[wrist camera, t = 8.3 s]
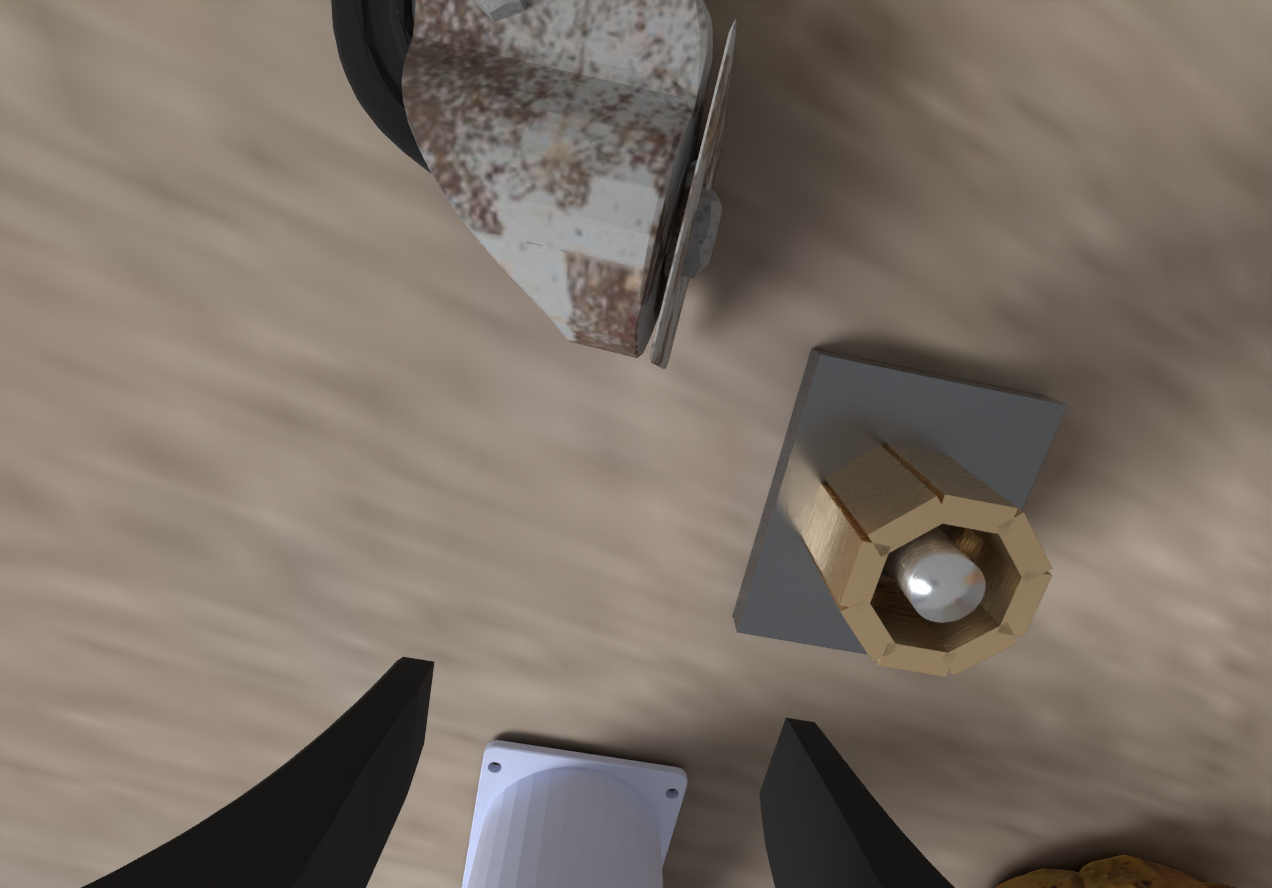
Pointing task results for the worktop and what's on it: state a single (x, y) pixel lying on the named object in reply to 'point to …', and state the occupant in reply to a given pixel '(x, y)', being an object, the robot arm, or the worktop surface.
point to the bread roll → (1110, 876)
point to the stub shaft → (854, 425)
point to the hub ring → (900, 512)
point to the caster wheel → (560, 143)
